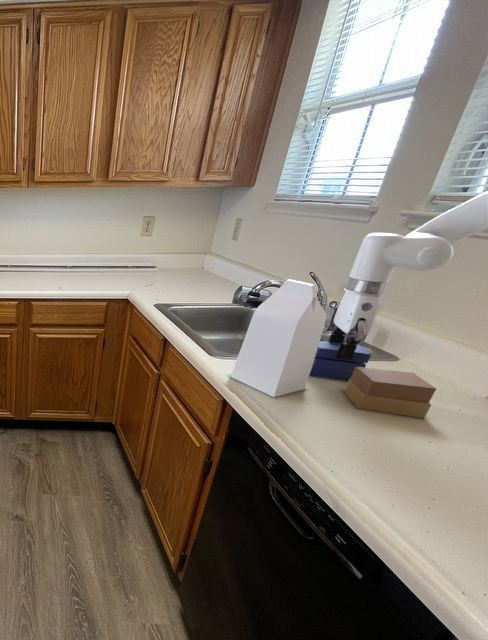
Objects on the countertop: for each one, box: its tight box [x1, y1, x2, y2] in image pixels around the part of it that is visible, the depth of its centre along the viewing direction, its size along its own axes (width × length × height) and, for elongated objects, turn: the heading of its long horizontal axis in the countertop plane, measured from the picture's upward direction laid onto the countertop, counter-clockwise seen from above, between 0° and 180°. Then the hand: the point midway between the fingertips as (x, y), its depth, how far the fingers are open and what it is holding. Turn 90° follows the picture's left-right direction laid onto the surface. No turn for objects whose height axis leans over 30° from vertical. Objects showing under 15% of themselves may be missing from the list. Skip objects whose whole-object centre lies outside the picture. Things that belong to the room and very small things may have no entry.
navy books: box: [309, 356, 367, 382], centre depth 111 cm, size 11×7×5 cm, turn 69°
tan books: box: [343, 367, 437, 419], centre depth 96 cm, size 12×9×7 cm
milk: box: [230, 279, 327, 398], centre depth 102 cm, size 12×12×26 cm
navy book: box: [315, 340, 372, 364], centre depth 109 cm, size 11×6×2 cm, turn 69°
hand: (338, 353), depth 109 cm, fingers closed on navy book, 6 cm apart
